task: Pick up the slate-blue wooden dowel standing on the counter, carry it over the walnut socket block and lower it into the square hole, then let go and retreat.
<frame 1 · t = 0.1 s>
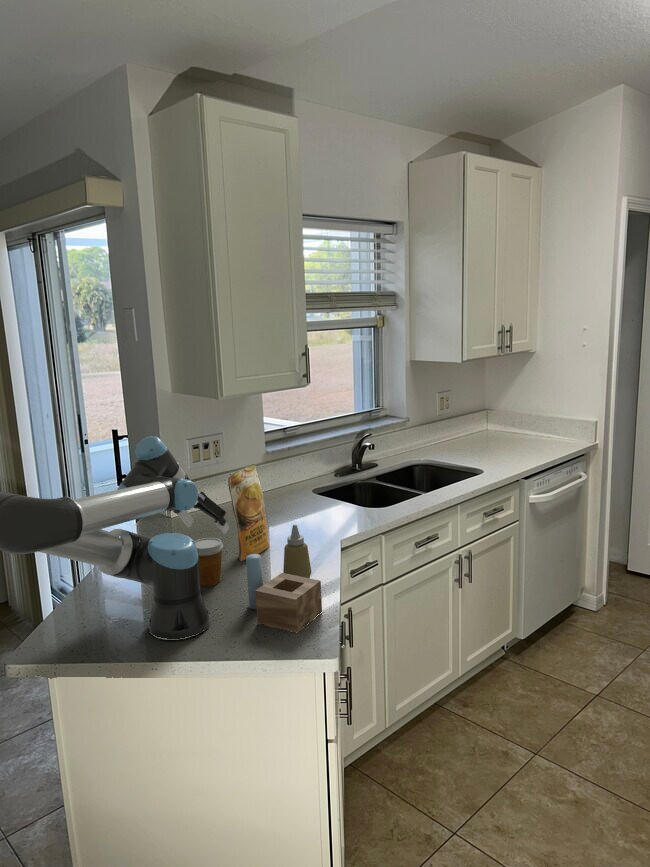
hand: (208, 527, 199), 15 cm above the worktop, tool tilted 35°, fingers open, 13 cm apart
disposable coffee cup: (209, 582, 197), on the worktop
dowel: (256, 605, 181), on the worktop
socket block: (290, 618, 173), on the worktop
pancake mix bag: (252, 552, 219), on the worktop
squeeze bottle: (298, 585, 193), on the worktop
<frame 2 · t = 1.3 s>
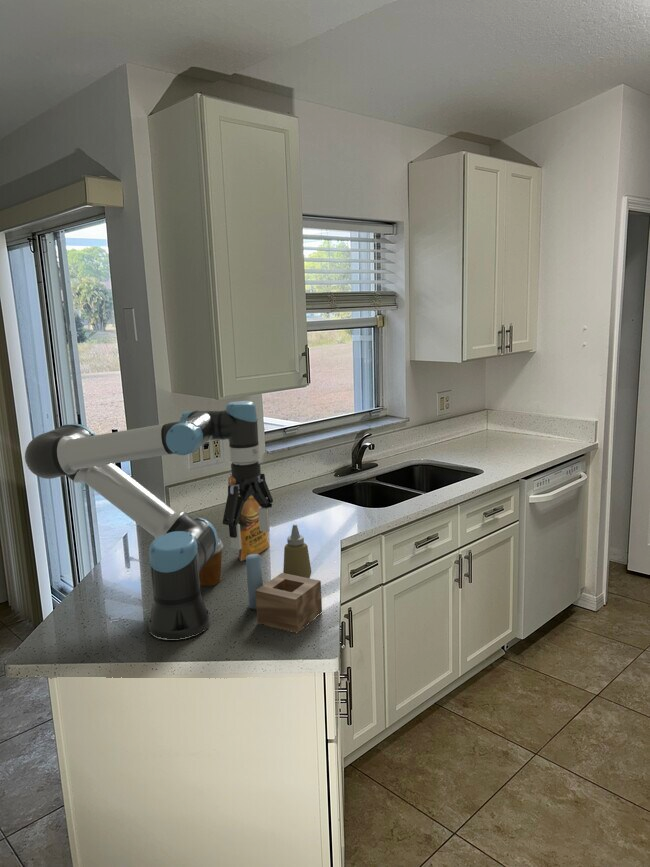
hand: (251, 539, 178), 19 cm above the worktop, tool pointing down, fingers open, 13 cm apart
nothing on the worktop moved.
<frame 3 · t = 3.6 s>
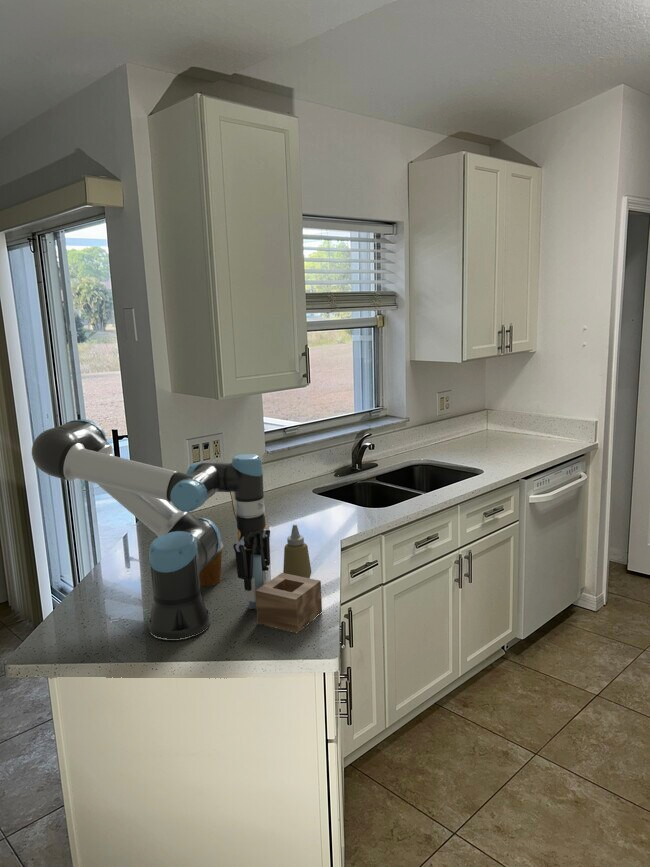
hand: (256, 596, 180), 3 cm above the worktop, tool pointing down, fingers closed on dowel, 4 cm apart
dowel: (256, 605, 181), on the worktop, touching gripper
everything else where it was.
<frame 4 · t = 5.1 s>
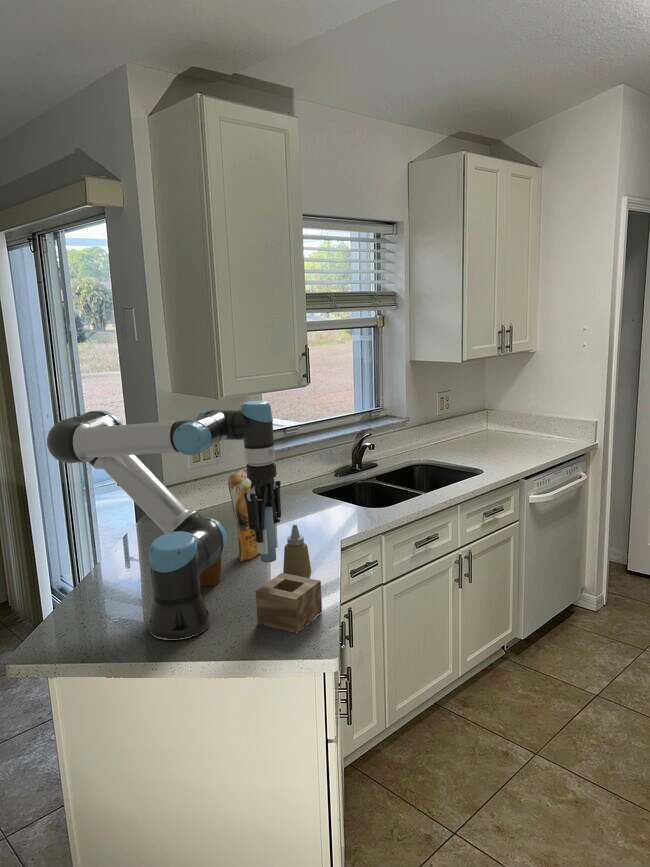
hand: (267, 549, 174), 17 cm above the worktop, tool pointing down, fingers closed on dowel, 4 cm apart
dowel: (268, 559, 175), point 14 cm above the worktop, touching gripper
everything else where it was.
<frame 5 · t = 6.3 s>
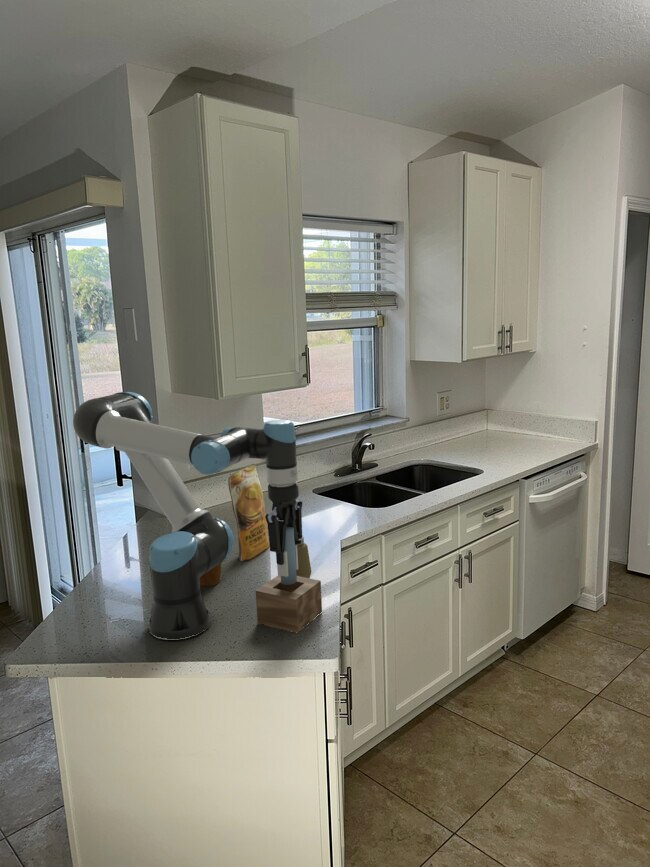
hand: (288, 571, 170), 13 cm above the worktop, tool pointing down, fingers closed on dowel, 4 cm apart
dowel: (288, 581, 171), point 10 cm above the worktop, touching gripper
everything else where it was.
when the fingers open (10 cm above the worktop, at t = 7.0 s): dowel drops 5 cm, resting on socket block.
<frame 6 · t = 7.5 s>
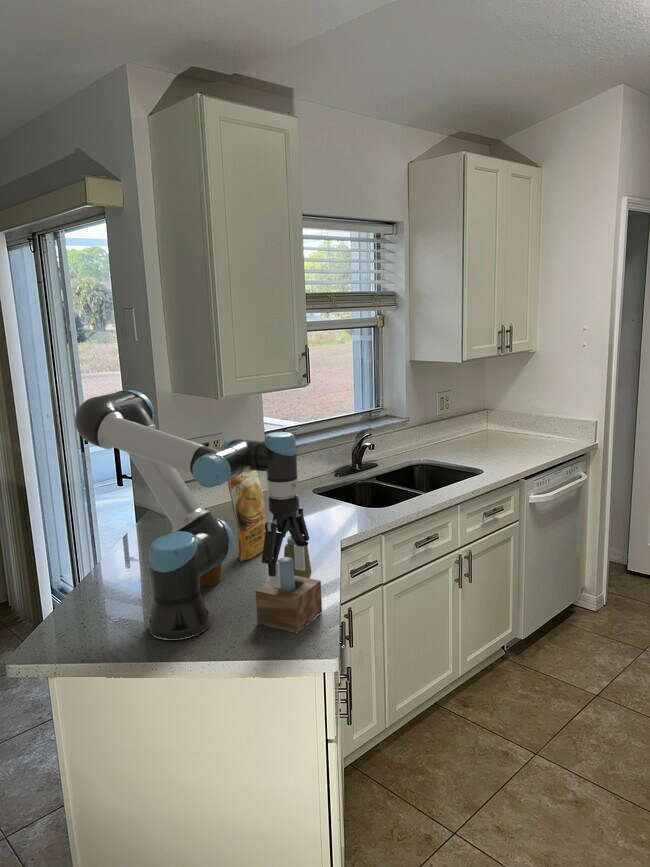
hand: (288, 578, 171), 11 cm above the worktop, tool pointing down, fingers open, 11 cm apart
dowel: (289, 611, 172), point 2 cm above the worktop, touching socket block
everything else where it was.
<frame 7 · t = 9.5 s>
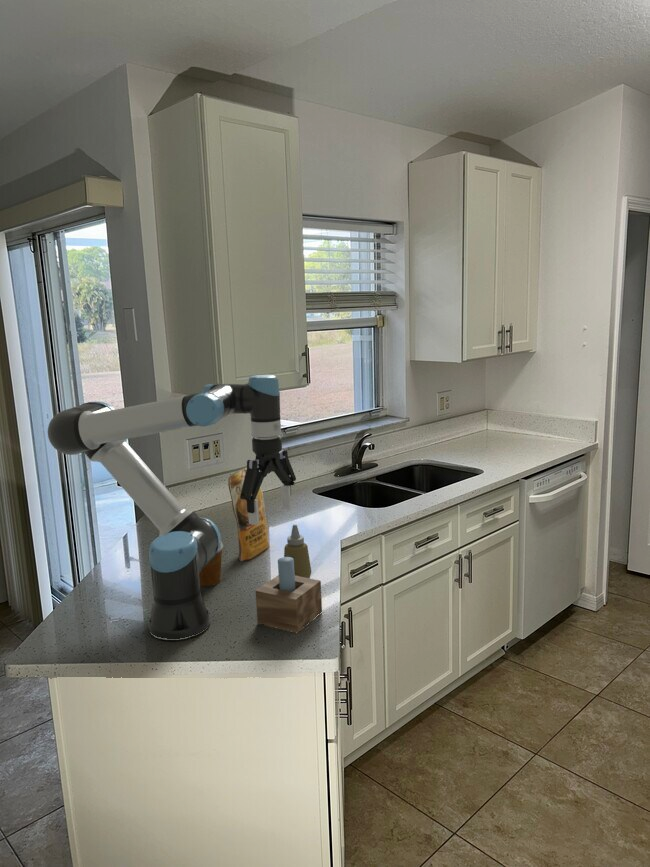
hand: (270, 516, 175), 25 cm above the worktop, tool pointing down, fingers open, 13 cm apart
nothing on the worktop moved.
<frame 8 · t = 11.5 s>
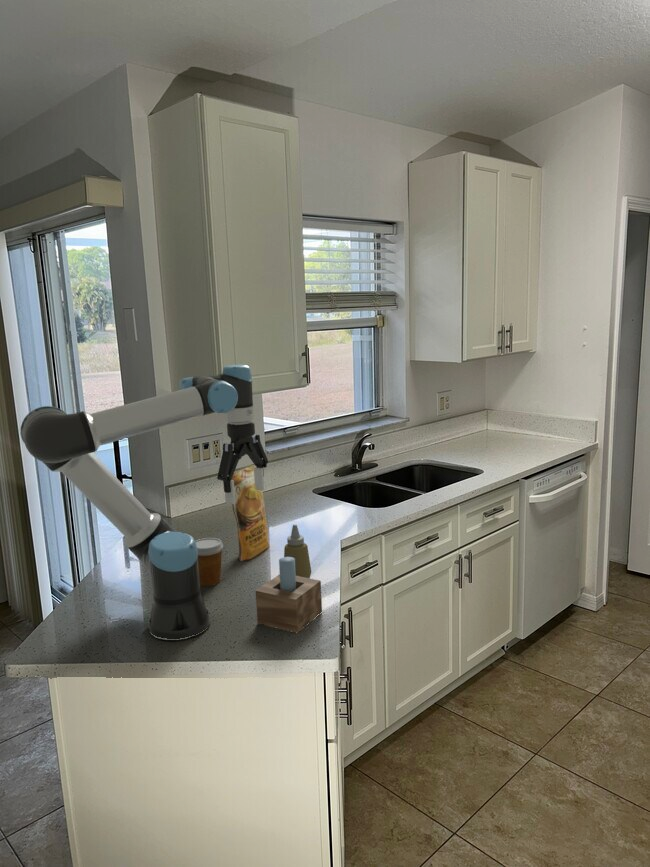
hand: (245, 496, 188), 27 cm above the worktop, tool pointing down, fingers open, 13 cm apart
nothing on the worktop moved.
at the end: dowel 0.3 cm off-centre on the socket block, point 2.0 cm above the socket block's base; the gripper is holding nothing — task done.
